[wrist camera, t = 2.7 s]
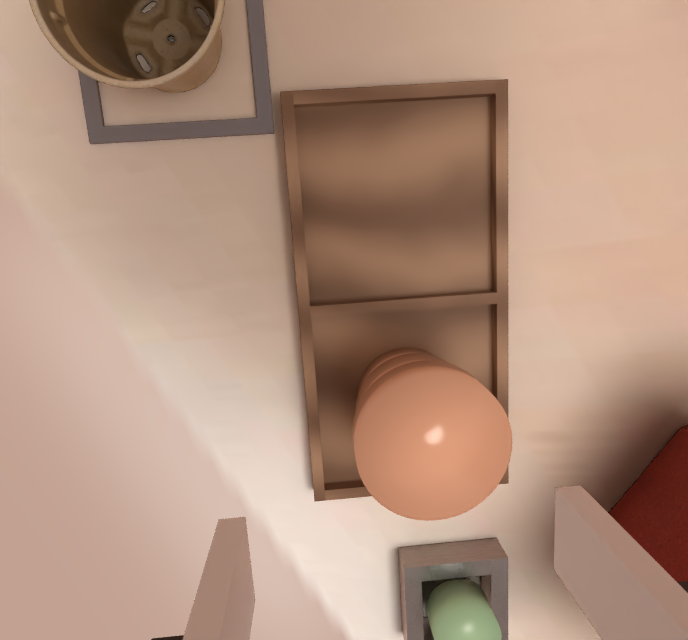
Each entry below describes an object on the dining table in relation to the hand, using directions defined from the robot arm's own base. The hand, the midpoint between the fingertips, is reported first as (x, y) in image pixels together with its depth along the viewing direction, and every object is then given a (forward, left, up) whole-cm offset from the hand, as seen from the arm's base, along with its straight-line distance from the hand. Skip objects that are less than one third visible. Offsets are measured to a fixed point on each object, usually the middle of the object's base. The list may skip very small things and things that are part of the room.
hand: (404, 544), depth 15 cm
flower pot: (-21, -10, -24) cm, 33 cm away
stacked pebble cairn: (+4, +4, -23) cm, 23 cm away
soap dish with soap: (+21, +7, -23) cm, 32 cm away
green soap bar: (+21, +7, -21) cm, 31 cm away
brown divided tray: (-3, +4, -23) cm, 24 cm away
